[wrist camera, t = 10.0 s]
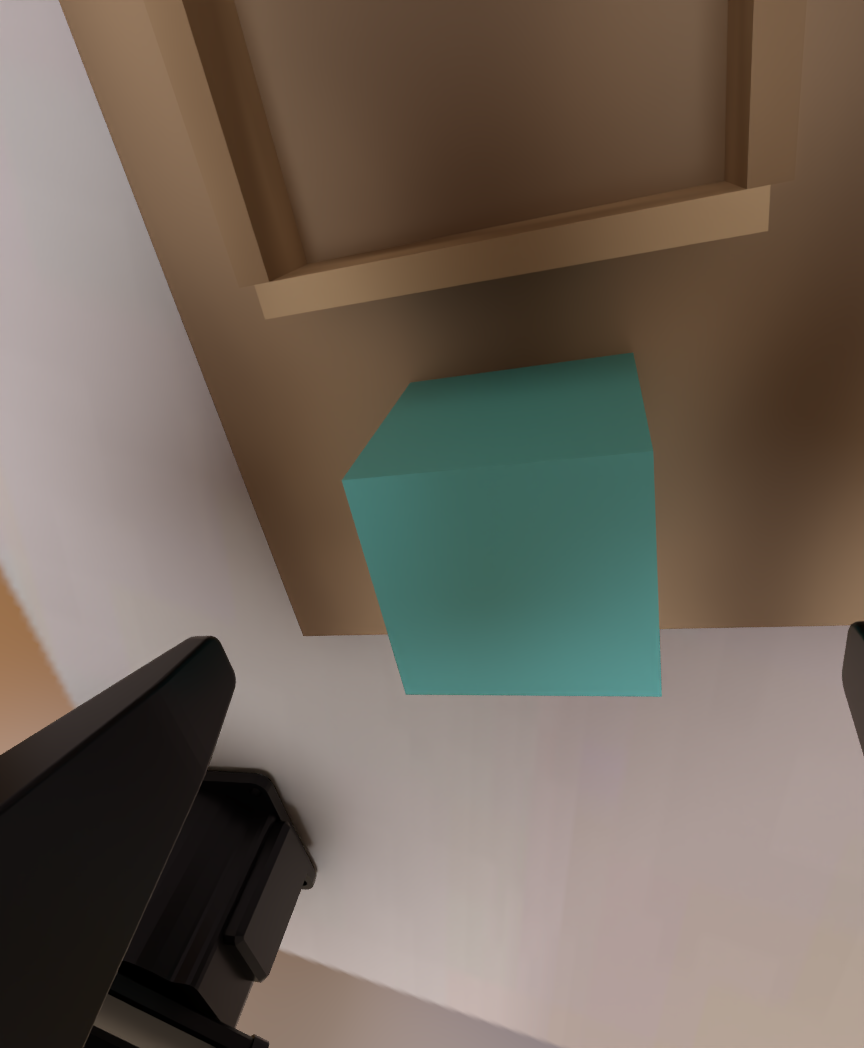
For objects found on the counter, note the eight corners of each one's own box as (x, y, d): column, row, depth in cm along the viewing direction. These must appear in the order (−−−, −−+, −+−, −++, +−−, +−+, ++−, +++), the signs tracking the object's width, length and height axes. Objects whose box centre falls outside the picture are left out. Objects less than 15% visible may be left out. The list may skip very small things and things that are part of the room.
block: (449, 558, 16) (405, 694, 12) (410, 382, 13) (342, 479, 10) (642, 548, 14) (661, 696, 11) (633, 352, 12) (653, 451, 8)
